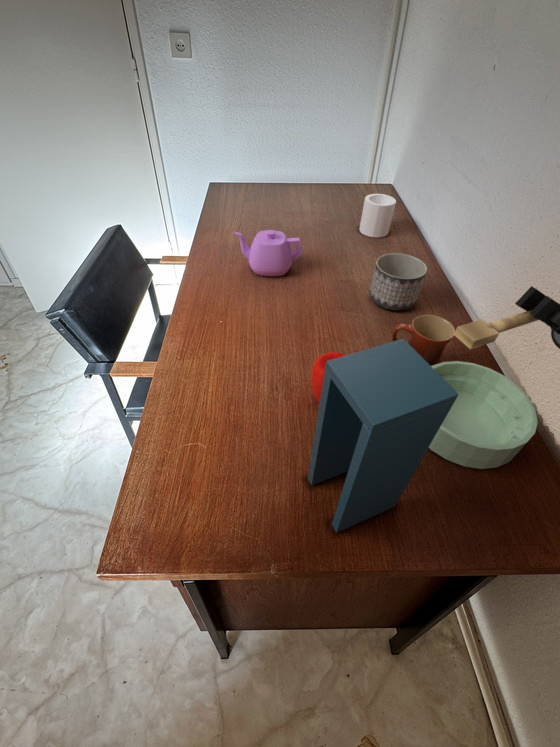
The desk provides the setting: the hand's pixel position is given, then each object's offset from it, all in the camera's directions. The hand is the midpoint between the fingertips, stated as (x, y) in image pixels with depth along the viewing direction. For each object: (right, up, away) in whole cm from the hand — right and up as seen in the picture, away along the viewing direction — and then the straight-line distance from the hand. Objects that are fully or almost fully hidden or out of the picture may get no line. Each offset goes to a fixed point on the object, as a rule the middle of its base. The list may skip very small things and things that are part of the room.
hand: (532, 301), depth 46 cm
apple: (-22, -15, +29) cm, 39 cm away
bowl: (+4, -19, +26) cm, 32 cm away
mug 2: (+2, +42, +84) cm, 94 cm away
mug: (-2, -6, +38) cm, 39 cm away
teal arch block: (-20, -29, +15) cm, 38 cm away
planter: (-1, +11, +55) cm, 56 cm away
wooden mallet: (-1, -2, +2) cm, 3 cm away
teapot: (-35, +23, +65) cm, 78 cm away
